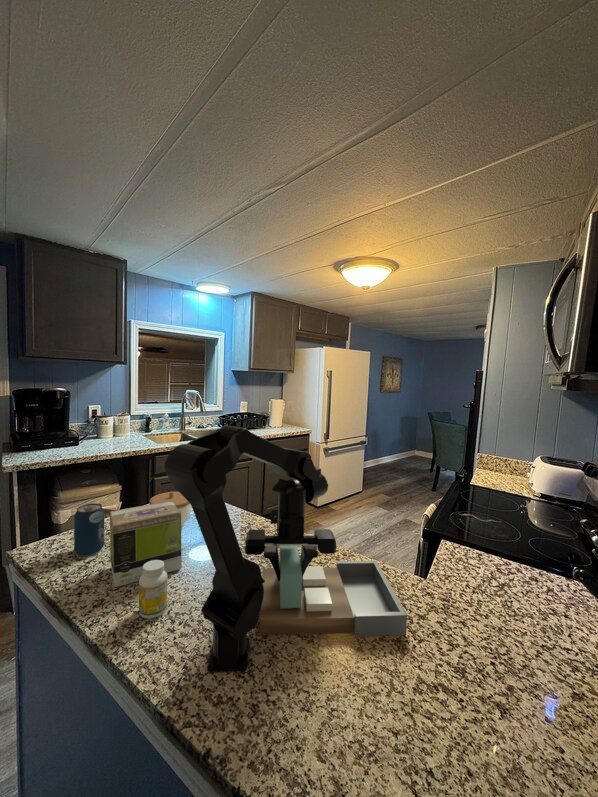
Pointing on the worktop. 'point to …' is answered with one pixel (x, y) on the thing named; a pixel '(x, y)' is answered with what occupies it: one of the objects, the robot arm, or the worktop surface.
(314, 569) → the tile
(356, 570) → the tray
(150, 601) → the supplement bottle
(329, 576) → the board
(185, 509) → the lidded bowl
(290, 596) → the tapered teal post
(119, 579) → the tea box
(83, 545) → the soda can
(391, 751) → the worktop surface
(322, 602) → the tile
